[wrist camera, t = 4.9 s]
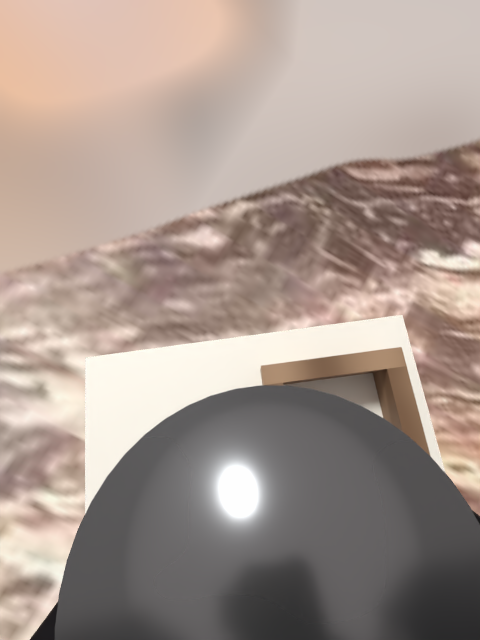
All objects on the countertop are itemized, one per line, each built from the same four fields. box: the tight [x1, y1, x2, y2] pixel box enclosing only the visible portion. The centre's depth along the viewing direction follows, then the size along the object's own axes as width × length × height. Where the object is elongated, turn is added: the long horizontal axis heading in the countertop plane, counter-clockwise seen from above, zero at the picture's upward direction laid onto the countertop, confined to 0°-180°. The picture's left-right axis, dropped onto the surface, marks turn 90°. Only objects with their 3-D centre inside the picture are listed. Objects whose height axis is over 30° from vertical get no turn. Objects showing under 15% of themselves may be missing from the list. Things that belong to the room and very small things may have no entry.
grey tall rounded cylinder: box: [55, 385, 480, 640], centre depth 9 cm, size 4×4×13 cm
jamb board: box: [85, 315, 445, 514], centre depth 22 cm, size 23×14×1 cm, turn 97°
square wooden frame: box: [260, 347, 430, 455], centre depth 20 cm, size 9×9×2 cm
